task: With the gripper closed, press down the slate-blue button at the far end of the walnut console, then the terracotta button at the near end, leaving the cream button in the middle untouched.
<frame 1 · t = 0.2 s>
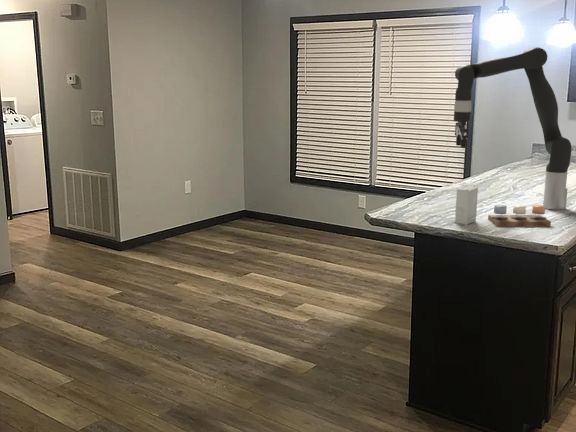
hand: (460, 146, 301), 29 cm above the worktop, fingers open, 8 cm apart
board: (518, 222, 277), on the worktop
button slate: (500, 209, 276), point 6 cm above the worktop, slide at 0.0 cm
skincare box: (465, 222, 278), on the worktop
button cream: (519, 209, 276), point 6 cm above the worktop, slide at 0.0 cm
button terracotta: (538, 209, 275), point 6 cm above the worktop, slide at 0.0 cm
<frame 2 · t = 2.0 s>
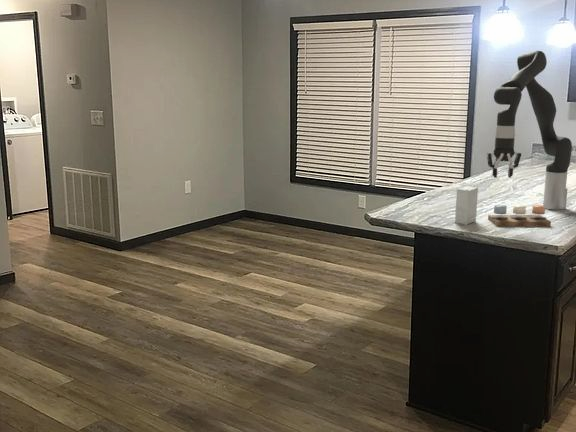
hand: (502, 177, 273), 19 cm above the worktop, fingers open, 5 cm apart
nothing on the worktop moved.
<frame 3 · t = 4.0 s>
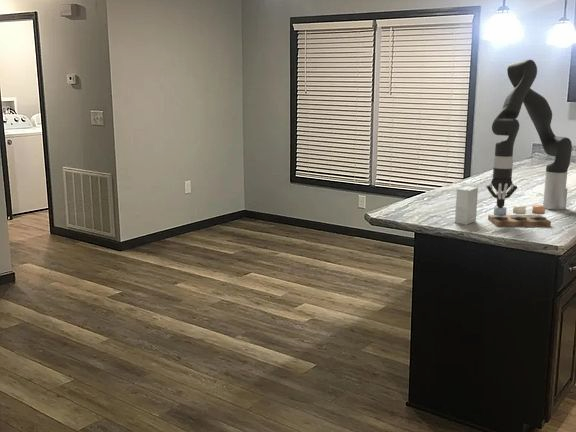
hand: (500, 207, 276), 7 cm above the worktop, fingers closed
button slate: (500, 211, 276), point 5 cm above the worktop, slide at 0.7 cm, touching gripper
everything else where it was.
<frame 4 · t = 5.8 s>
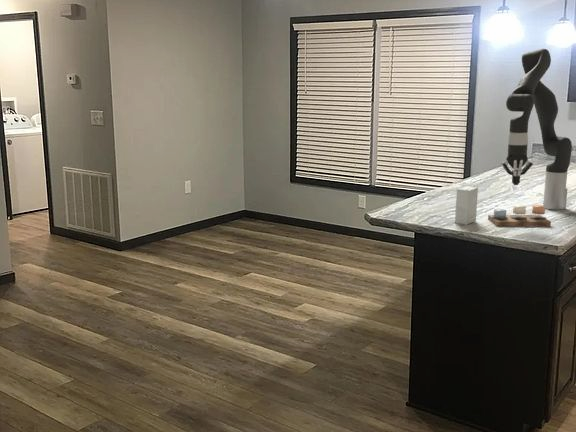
hand: (515, 184, 274), 16 cm above the worktop, fingers closed
button slate: (500, 213, 276), point 4 cm above the worktop, slide at 1.8 cm
everything else where it was.
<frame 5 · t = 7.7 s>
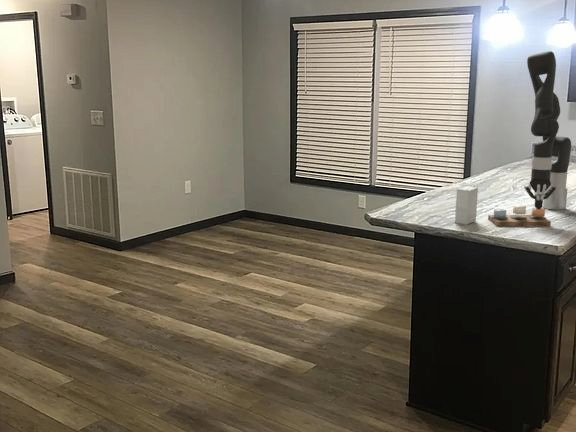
hand: (538, 208, 275), 6 cm above the worktop, fingers closed
button terracotta: (538, 212, 276), point 5 cm above the worktop, slide at 1.1 cm, touching gripper
everything else where it was.
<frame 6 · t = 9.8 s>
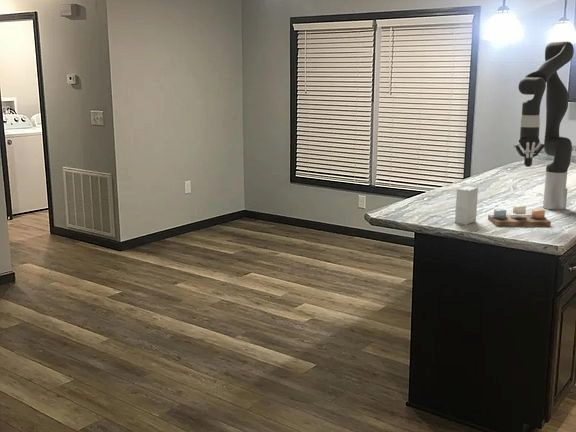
hand: (527, 166, 280), 23 cm above the worktop, fingers closed
button terracotta: (538, 213, 276), point 4 cm above the worktop, slide at 1.8 cm
everything else where it was.
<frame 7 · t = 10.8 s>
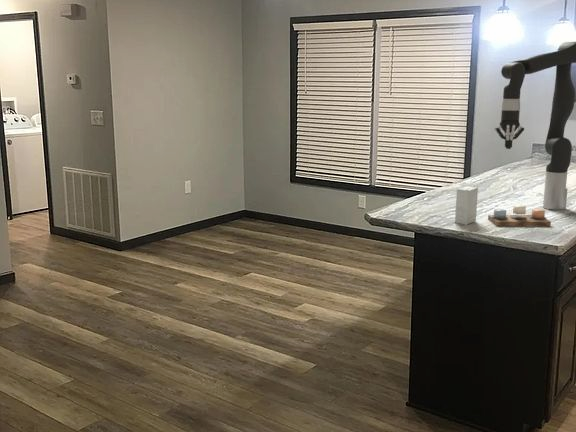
hand: (508, 148, 291), 29 cm above the worktop, fingers closed
nothing on the worktop moved.
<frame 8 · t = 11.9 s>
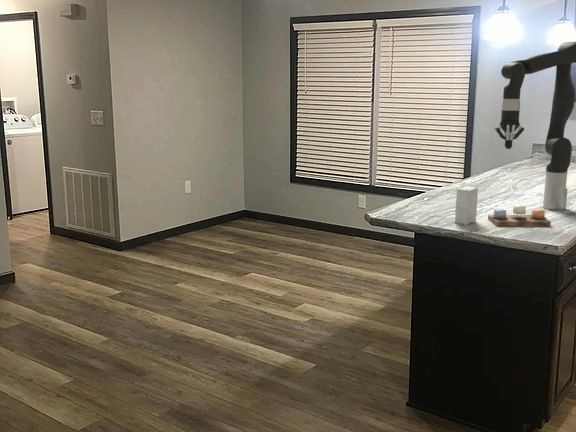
hand: (508, 148, 291), 29 cm above the worktop, fingers closed
nothing on the worktop moved.
at the end: button slate slide at 1.8 cm; button terracotta slide at 1.8 cm; button cream slide at 0.0 cm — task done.
